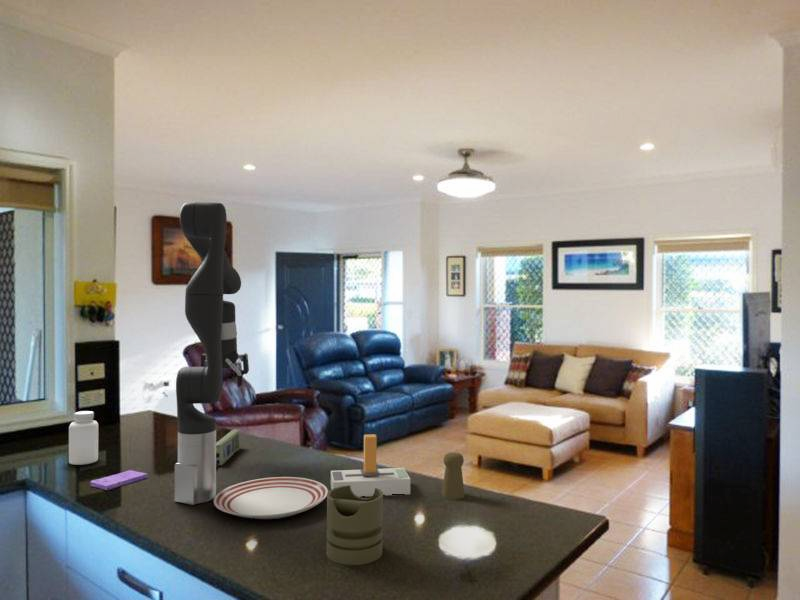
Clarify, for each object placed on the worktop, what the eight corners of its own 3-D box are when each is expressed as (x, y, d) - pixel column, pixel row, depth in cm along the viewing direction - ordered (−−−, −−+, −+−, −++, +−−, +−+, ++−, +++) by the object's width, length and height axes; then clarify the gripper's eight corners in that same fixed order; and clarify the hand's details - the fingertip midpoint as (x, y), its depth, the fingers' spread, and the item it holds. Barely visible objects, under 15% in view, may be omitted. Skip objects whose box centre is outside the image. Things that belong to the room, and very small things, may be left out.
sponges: (90, 487, 164) (90, 481, 164) (131, 475, 175) (131, 468, 175) (106, 492, 161) (106, 485, 161) (147, 479, 172) (147, 472, 172)
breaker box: (333, 498, 157) (333, 482, 157) (330, 485, 167) (330, 470, 167) (410, 494, 160) (410, 478, 160) (403, 482, 170) (403, 467, 170)
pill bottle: (103, 458, 190) (103, 410, 190) (88, 466, 182) (88, 415, 182) (79, 457, 191) (79, 409, 190) (62, 465, 183) (62, 414, 182)
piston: (339, 482, 132) (389, 487, 129) (338, 538, 132) (389, 544, 129) (318, 500, 121) (372, 506, 118) (317, 560, 121) (372, 568, 118)
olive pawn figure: (463, 500, 156) (464, 457, 156) (440, 498, 157) (440, 455, 157) (465, 492, 162) (466, 451, 162) (443, 490, 163) (443, 449, 163)
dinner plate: (212, 533, 134) (212, 518, 134) (214, 492, 161) (215, 479, 161) (336, 521, 142) (336, 507, 142) (319, 484, 168) (319, 472, 168)
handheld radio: (241, 449, 203) (217, 471, 178) (231, 449, 203) (206, 472, 178) (240, 429, 203) (216, 449, 178) (230, 429, 203) (205, 449, 178)
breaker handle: (362, 476, 161) (362, 438, 161) (360, 471, 165) (361, 434, 165) (379, 475, 162) (379, 437, 161) (376, 470, 166) (377, 433, 166)
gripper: (197, 338, 184) (198, 390, 187) (245, 338, 185) (246, 390, 188) (203, 333, 192) (204, 383, 194) (249, 333, 193) (250, 383, 195)
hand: (225, 386), depth 191 cm, fingers open, 8 cm apart
